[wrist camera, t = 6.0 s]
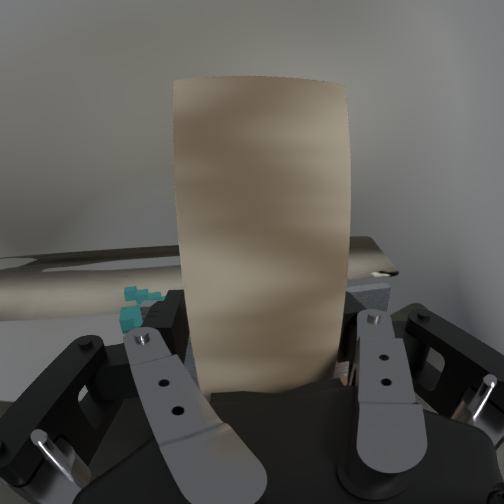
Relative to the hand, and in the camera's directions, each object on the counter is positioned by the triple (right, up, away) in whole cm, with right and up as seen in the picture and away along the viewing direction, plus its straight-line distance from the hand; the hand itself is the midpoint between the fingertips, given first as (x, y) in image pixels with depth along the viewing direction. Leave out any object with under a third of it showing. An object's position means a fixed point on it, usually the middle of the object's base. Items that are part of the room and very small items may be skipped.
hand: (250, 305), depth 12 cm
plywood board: (+1, -12, +1) cm, 12 cm away
